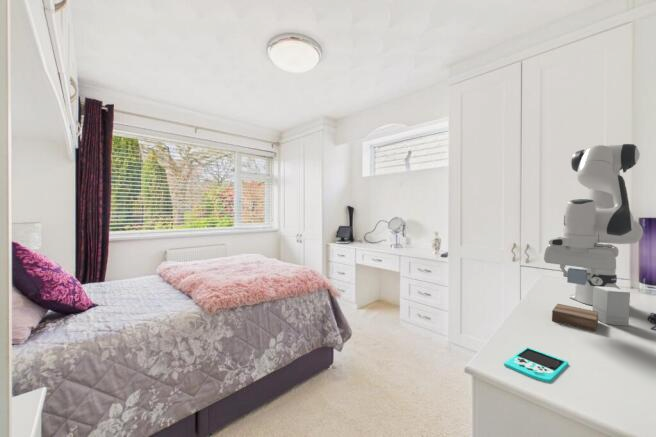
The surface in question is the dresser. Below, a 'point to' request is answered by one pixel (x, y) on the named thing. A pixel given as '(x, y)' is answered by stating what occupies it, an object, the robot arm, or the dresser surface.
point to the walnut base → (575, 316)
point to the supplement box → (611, 305)
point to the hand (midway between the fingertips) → (577, 278)
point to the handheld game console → (536, 364)
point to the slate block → (577, 276)
